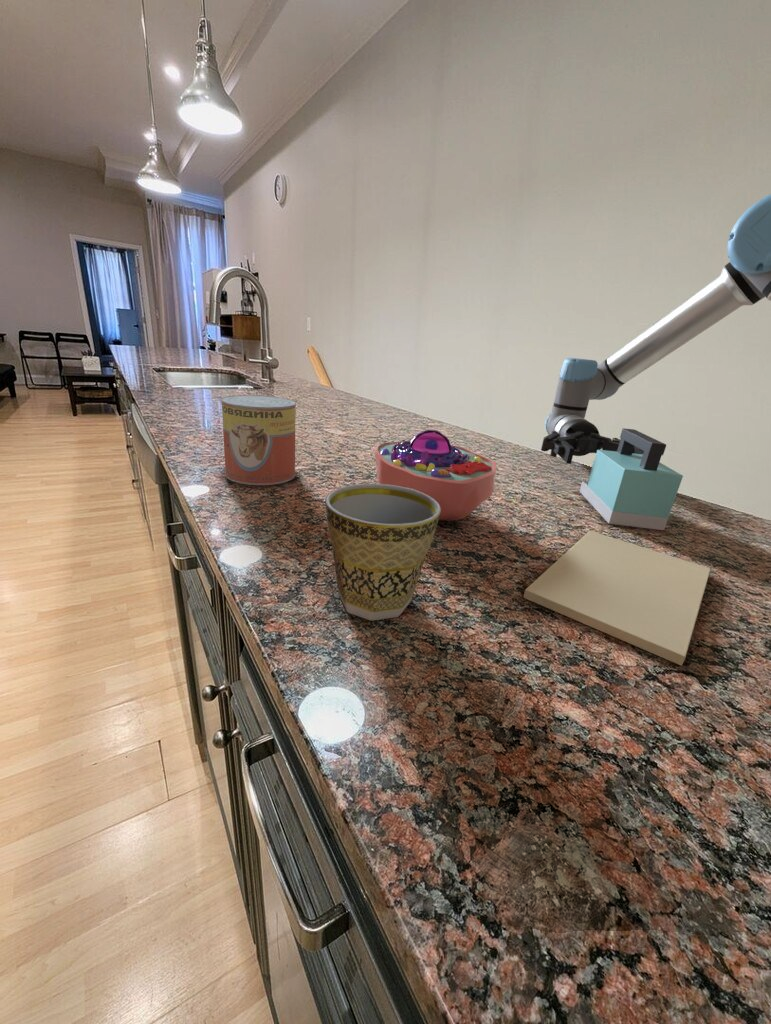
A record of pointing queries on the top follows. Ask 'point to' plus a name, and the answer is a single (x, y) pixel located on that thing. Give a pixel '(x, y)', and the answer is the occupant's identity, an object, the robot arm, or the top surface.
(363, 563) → the ceramic cup
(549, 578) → the mat
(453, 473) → the cell model
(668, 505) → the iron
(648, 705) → the top surface
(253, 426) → the canned food
